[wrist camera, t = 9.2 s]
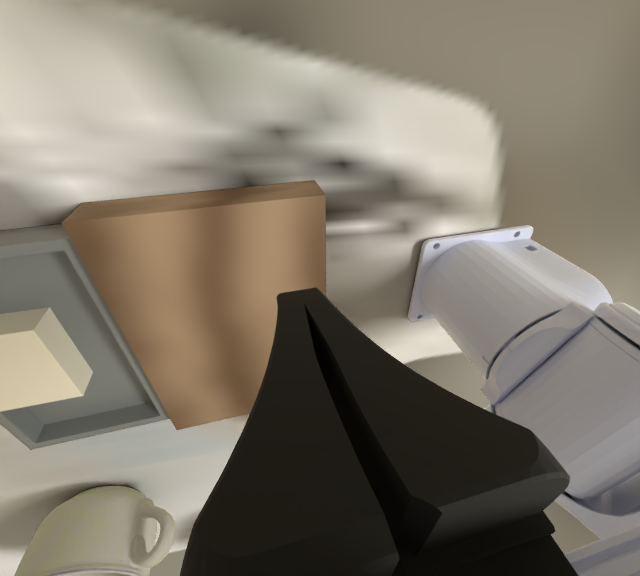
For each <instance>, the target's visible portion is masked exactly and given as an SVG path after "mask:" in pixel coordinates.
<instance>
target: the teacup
mask: <svg viewBox="0 0 640 576" xmlns="http://www.w3.org/2000/svg"><path fill="white" fill-rule="evenodd" d="M157 520H158V522H159V523H160V528H161V530H160V535H159V538H158V541H157V543H156V545H155V539H156V531H157ZM174 535H175V523H174V520H173V518H172V516H171V515H170V514H169V513H168V512H167V511H165V510H164V509H161V508H159V507H156V506H154V504H153V501H151V500H150V499H148V498H145V496H144V495H143V494H142V493H140V492H139V491H137V490H135V489H133V488H129V487H125V486H101V487H96V488H92V489H89V490H86V491H83V492H81V493H79V494H77V495H76V496H74V497H73V498H71V499H69V500H67V501H65V502H64V503H62V504H60V505H59V506H57V507H56V508H55V509H53V510H52V511H51V512H50V513H49V514H48V515H47V516H46V517H45V519H44V520H43V521H42V522H41V524H40V525H39V527H38V528H37V530H36V532H35V534H34V536H33V538H32V540H31V542H30V544H29V546H28V548H27V549H26V552H25V554H24V556H23V558H22V560H21V562H20V564H19V566H18V569H17V571H16V573H15V575H14V576H149V573H150V568H151V567H153V566H155V565H156V564H158V563H159V562H160V561H161V560H163V558H164V557H165V556H166V555H167V553H168V552H169V550H170V548H171V546H172V543H173V539H174ZM154 545H155V546H154Z"/></svg>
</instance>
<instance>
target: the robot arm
mask: <svg viewBox="0 0 640 576" xmlns="http://www.w3.org/2000/svg"><path fill="white" fill-rule="evenodd" d="M532 232H533V228H532V227H531V226H529V225H524V226H518V227H510V228H503V229H496V230H489V231H482V232H475V233H468V234H461V235H454V236H447V237H440V238H433V239H428V240H426V241H425V242H424V243H423V245H422V248H421V253H420V258H419V263H418V268H417V273H416V278H415V283H414V288H413V293H412V297H411V302H410V307H409V312H408V319H409V320H410V321H411V322H415V321H420V320H425V319H430V318H435V319H436V320H437V321H438V322H439V324H440V325H441V326H442V327H443V328H444V330H445V331H446V332H447V333H448V335H449V336H450V337H451V338H452V339H453V341H454V342H455V343H456V344H457V346H458V347H459V348H460V349H461V350H462V352H463V353H464V354H465V355H466V356H467V358H468V359H469V360H470V361H471V363H472V364H473V365H474V366H475V367H476V369H477V370H478V371H479V372H480V374H481V375H482V376H483V377H484V379H485V380H486V381H487V382H486V383H485V384H484V385H483V386H482V388H481V391H482V392H483V393H484V395H485V396H486V397H487V399H488V400H489V401H490V404H489V405H488V406H487V408H486V410H485V409H483V408H480V407H478V406H476V405H474V404H472V403H470V402H468V401H466V400H464V399H462V398H461V397H459V396H457V395H455V394H453V393H451V392H449V391H447V390H445V389H444V388H442V387H440V386H438V385H437V384H435V383H433V382H431V381H430V380H428V379H426V378H425V377H423V376H421V375H420V374H418V373H416V372H415V371H413V370H411V369H410V368H409V367H407V366H405V365H404V364H402V363H401V362H400V361H398V360H397V359H395V358H394V357H393V356H391V355H390V354H388V353H387V352H386V351H384V350H383V349H382V348H380V347H379V346H378V345H377V344H375V343H374V342H373V341H372V340H371V339H369V338H368V337H367V336H366V335H365V334H363V333H362V332H361V331H360V330H359V329H358V328H357V327H356V326H354V325H353V324H352V323H351V322H350V321H349V320H348V319H347V318H346V317H345V316H344V315H343V314H342V313H341V312H340V311H339V310H338V309H337V308H336V307H335V306H334V305H333V304H332V303H331V302H330V301H329V300H328V299H327V298H326V297H325V295H324V294H323V293H322V292H321V291H320V290H319V289H318V288H317V287H315V288H309V289H303V290H297V291H291V292H285V293H279V294H278V296H277V297H276V298H277V305H278V312H277V323H276V329H275V335H274V340H273V345H272V349H271V353H270V357H269V361H268V365H267V368H266V371H265V375H264V378H263V381H262V384H261V387H260V389H259V392H258V395H257V398H256V400H255V403H254V405H253V408H252V410H251V413H250V415H249V418H248V420H247V422H246V425H245V427H244V429H243V431H242V433H241V436H240V438H239V440H238V442H237V444H236V446H235V448H234V450H233V452H232V454H231V456H230V458H229V460H228V462H227V464H226V466H225V468H224V470H223V472H222V474H221V476H220V478H219V480H218V481H217V483H216V485H215V487H214V489H213V490H212V492H211V494H210V496H209V498H208V499H207V501H206V503H205V505H204V507H203V508H202V510H201V512H200V514H199V516H198V517H197V519H196V521H195V523H194V525H193V528H192V532H191V535H190V538H189V542H188V545H187V549H186V552H185V556H184V560H183V564H182V568H181V573H180V576H640V311H638V310H637V309H635V308H633V307H631V306H629V305H627V304H625V303H622V302H619V303H613V301H612V298H611V297H610V295H609V293H608V291H607V290H606V288H605V287H604V286H603V285H602V283H601V282H600V281H599V280H597V279H596V278H595V277H594V276H592V275H591V274H589V273H587V272H586V271H584V270H582V269H581V268H579V267H577V266H576V265H574V264H572V263H570V262H569V261H567V260H565V259H564V258H562V257H560V256H558V255H557V254H555V253H553V252H552V251H550V250H548V249H547V248H545V247H543V246H541V245H539V244H538V243H536V242H535V241H533V240H531V239H530V237H531V235H532ZM436 243H437V244H436ZM435 244H436V246H434V245H435ZM433 246H434V247H433ZM553 501H555V502H557V503H558V504H559V505H561V506H562V507H563V508H565V509H566V510H567V511H568V512H570V513H571V514H572V515H573V516H575V517H576V518H577V519H578V520H579V521H580V522H582V523H583V524H584V525H585V526H586V527H587V528H588V529H589V530H590V531H592V532H593V533H595V534H596V535H597V536H598V537H599V538H600V539H601V540H598V541H595V542H593V543H590V544H588V545H585V546H583V547H580V548H577V549H575V550H573V551H570V552H567V553H564V554H563V552H562V551H561V549H560V548H559V547H558V545H557V543H556V542H555V541H554V539H553V538H552V536H551V535H550V534H552V533H554V532H555V529H554V526H553V524H552V523H551V522H550V520H549V519H548V517H547V516H546V515H545V513H544V512H543V510H544V509H545V508H546V507H547V506H549V505H550V504H551V503H552V502H553Z"/></svg>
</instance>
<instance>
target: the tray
mask: <svg viewBox="0 0 640 576" xmlns="http://www.w3.org/2000/svg"><path fill="white" fill-rule="evenodd" d="M48 307H50V309H51V310H52V312H53V313H54V315H55V316H56V318H57V319H58V321H59V322H60V324H61V325H62V327H63V328H64V330H65V331H66V333H67V334H68V335H69V337H70V338H71V340H72V341H73V343H74V344H75V346H76V347H77V349H78V350H79V352H80V353H81V355H82V356H83V358H84V359H85V361H86V362H87V364H88V365H89V367H90V368H91V370H92V371H93V374H92V376H91V378H90V381H89V383H88V386H87V388H86V390H85V393H84V395H83V396H80V397H75V398H69V399H64V400H59V401H54V402H48V403H43V404H38V405H32V406H27V407H22V408H17V409H11V410H6V411H1V412H0V424H1V425H2V426H3V427H5V428H6V429H7V430H8V431H9V432H10V433H12V434H13V435H14V436H15V437H16V438H18V439H19V440H20V441H21V442H22V443H23V444H25V445H26V446H27V447H28V448H29V449H30V450H32V449H36V448H40V447H45V446H49V445H54V444H58V443H63V442H67V441H72V440H76V439H81V438H85V437H90V436H94V435H99V434H103V433H108V432H112V431H117V430H121V429H125V428H130V427H134V426H139V425H143V424H148V423H152V422H157V421H161V420H166V419H170V417H169V415H168V413H167V412H166V410H165V408H164V406H163V404H162V403H161V401H160V399H159V397H158V395H157V394H156V392H155V390H154V388H153V386H152V385H151V383H150V381H149V379H148V377H147V376H146V374H145V372H144V370H143V368H142V367H141V365H140V363H139V361H138V359H137V358H136V356H135V354H134V352H133V350H132V349H131V347H130V345H129V343H128V341H127V340H126V338H125V336H124V334H123V332H122V330H121V329H120V327H119V325H118V323H117V321H116V320H115V318H114V316H113V314H112V312H111V311H110V309H109V307H108V305H107V303H106V302H105V300H104V298H103V296H102V294H101V293H100V291H99V289H98V287H97V285H96V284H95V282H94V280H93V278H92V276H91V275H90V273H89V271H88V269H87V267H86V266H85V264H84V262H83V260H82V258H81V257H80V255H79V253H78V251H77V249H76V248H75V246H74V244H73V242H72V240H71V238H70V237H69V235H68V233H67V231H66V229H65V228H64V226H63V224H57V225H48V226H38V227H29V228H20V229H10V230H1V231H0V314H4V313H11V312H19V311H26V310H33V309H41V308H48Z"/></svg>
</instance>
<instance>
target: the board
mask: <svg viewBox="0 0 640 576" xmlns="http://www.w3.org/2000/svg"><path fill="white" fill-rule="evenodd" d="M62 224H63V226H64V228H65V229H66V231H67V233H68V235H69V237H70V238H71V240H72V242H73V244H74V246H75V248H76V249H77V251H78V253H79V255H80V257H81V258H82V260H83V262H84V264H85V266H86V267H87V269H88V271H89V273H90V275H91V276H92V278H93V280H94V282H95V284H96V285H97V287H98V289H99V291H100V293H101V294H102V296H103V298H104V300H105V302H106V303H107V305H108V307H109V309H110V311H111V312H112V314H113V316H114V318H115V320H116V321H117V323H118V325H119V327H120V329H121V330H122V332H123V334H124V336H125V338H126V340H127V341H128V343H129V345H130V347H131V349H132V350H133V352H134V354H135V356H136V358H137V359H138V361H139V363H140V365H141V367H142V368H143V370H144V372H145V374H146V376H147V377H148V379H149V381H150V383H151V385H152V386H153V388H154V390H155V392H156V394H157V395H158V397H159V399H160V401H161V403H162V404H163V406H164V408H165V410H166V412H167V413H168V415H169V417H170V419H171V421H172V423H173V424H174V426H175V428H176V430H180V429H184V428H188V427H193V426H197V425H201V424H205V423H210V422H214V421H218V420H223V419H227V418H231V417H236V416H240V415H244V414H249V413H251V410H252V408H253V405H254V403H255V400H256V398H257V395H258V392H259V389H260V387H261V384H262V381H263V378H264V375H265V371H266V368H267V365H268V361H269V357H270V353H271V349H272V345H273V340H274V335H275V329H276V323H277V312H278V305H277V298H276V297H277V296H278V294H279V293H285V292H291V291H297V290H303V289H309V288H315V287H317V288H318V289H319V290H320V291H321V292H322V293H323V294H324V295H325V297H326V217H325V194H324V192H323V191H322V190H321V188H320V187H319V186H318V184H317V183H316V182H315V180H314V181H304V182H294V183H284V184H273V185H263V186H253V187H242V188H232V189H222V190H211V191H201V192H191V193H180V194H170V195H160V196H149V197H139V198H129V199H118V200H108V201H98V202H87V203H81V204H80V205H79V206H78V207H77V208H76V209H75V210H74V211H73V212H72V213H71V214H70V215H69V216H68V217H67V218H66V219H65V220H64V221H63V222H62Z"/></svg>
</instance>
